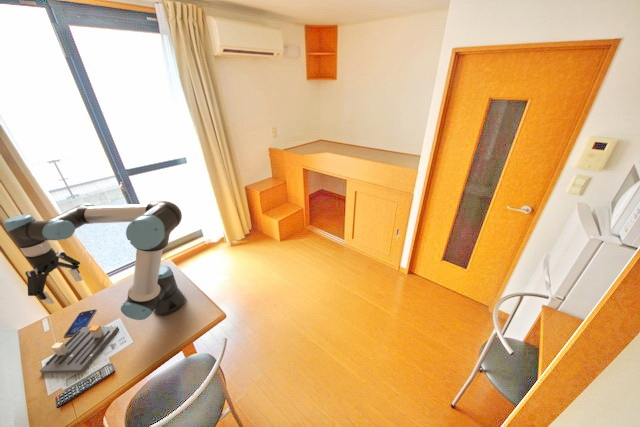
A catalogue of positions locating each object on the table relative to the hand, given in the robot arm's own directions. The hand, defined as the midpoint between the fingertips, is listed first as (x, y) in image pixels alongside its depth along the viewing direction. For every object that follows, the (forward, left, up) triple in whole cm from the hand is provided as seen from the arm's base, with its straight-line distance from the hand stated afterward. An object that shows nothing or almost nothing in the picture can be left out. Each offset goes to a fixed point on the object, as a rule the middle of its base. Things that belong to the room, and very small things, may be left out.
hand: (65, 291), depth 105 cm
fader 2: (-12, +7, -21) cm, 25 cm away
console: (-8, +12, -23) cm, 27 cm away
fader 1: (-3, +15, -21) cm, 26 cm away
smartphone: (+5, -2, -23) cm, 24 cm away
